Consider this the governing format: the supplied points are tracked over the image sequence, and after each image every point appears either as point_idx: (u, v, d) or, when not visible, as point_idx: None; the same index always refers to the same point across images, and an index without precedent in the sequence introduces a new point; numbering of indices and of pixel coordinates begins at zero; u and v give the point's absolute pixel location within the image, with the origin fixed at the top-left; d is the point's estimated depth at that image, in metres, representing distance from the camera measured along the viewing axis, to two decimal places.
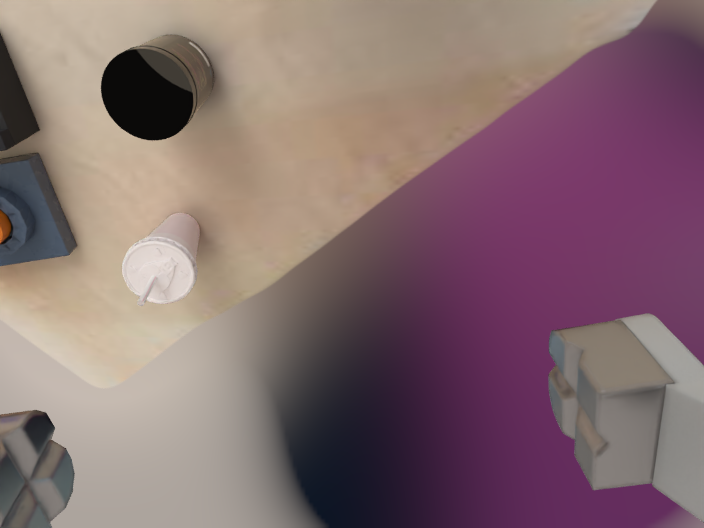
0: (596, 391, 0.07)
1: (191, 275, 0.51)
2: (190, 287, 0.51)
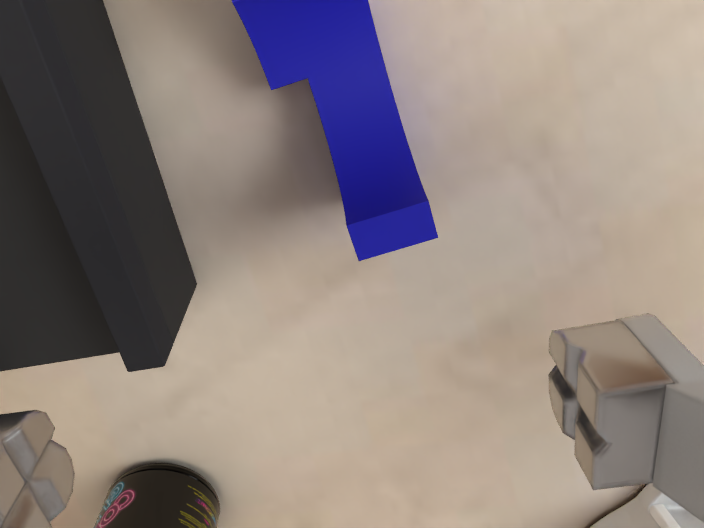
0: (596, 391, 0.07)
1: None
2: None
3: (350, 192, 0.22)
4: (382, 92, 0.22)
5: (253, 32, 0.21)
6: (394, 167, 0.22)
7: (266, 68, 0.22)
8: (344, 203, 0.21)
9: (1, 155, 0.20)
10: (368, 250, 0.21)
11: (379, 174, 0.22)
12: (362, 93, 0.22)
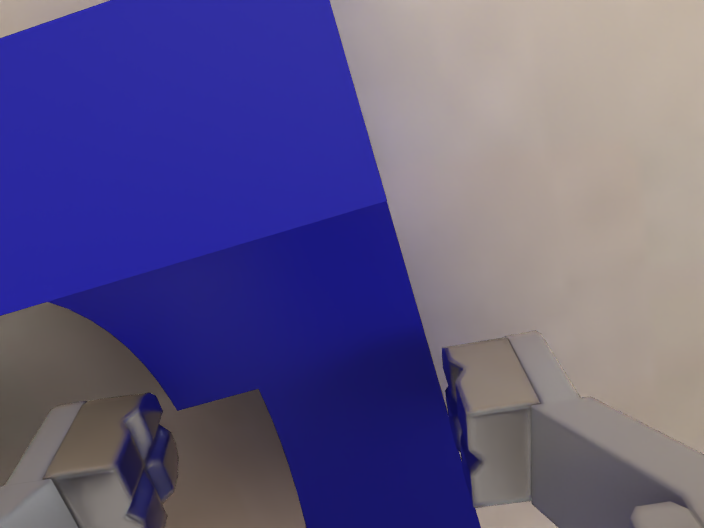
0: (466, 411, 0.07)
1: None
2: None
3: None
4: (426, 416, 0.10)
5: (117, 326, 0.08)
6: None
7: (162, 376, 0.10)
8: None
9: None
10: None
11: None
12: (381, 416, 0.10)
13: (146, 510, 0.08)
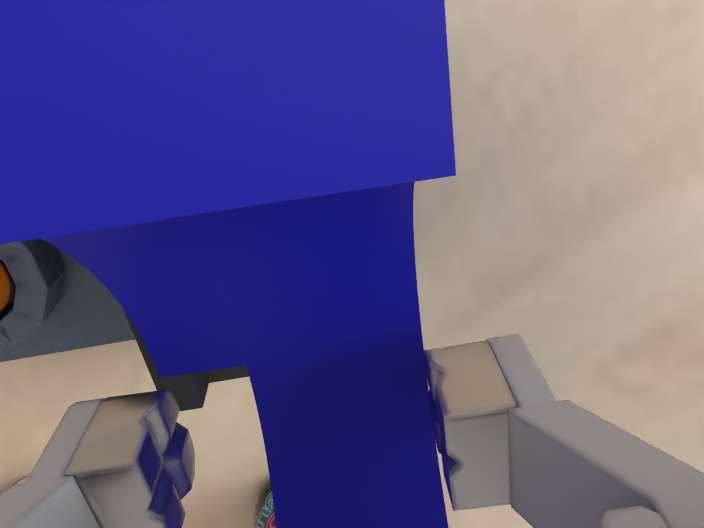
0: (444, 414, 0.07)
1: None
2: None
3: None
4: (410, 414, 0.10)
5: (116, 281, 0.08)
6: None
7: (150, 339, 0.09)
8: None
9: None
10: None
11: None
12: (365, 409, 0.10)
13: (165, 507, 0.08)
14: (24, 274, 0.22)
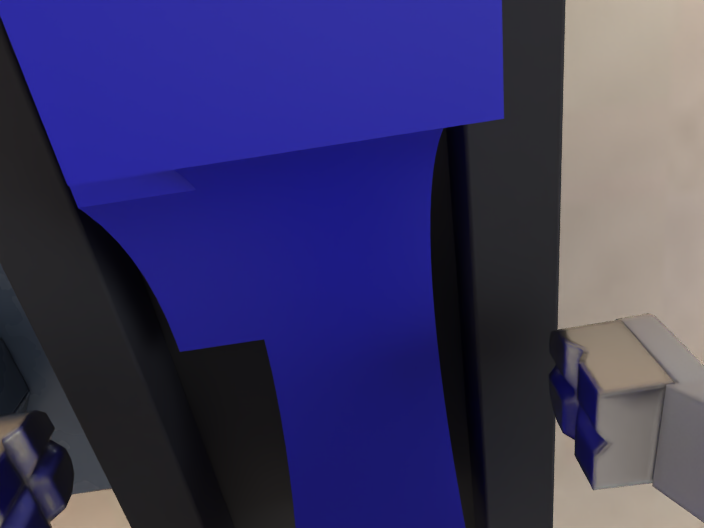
0: (596, 391, 0.07)
1: None
2: None
3: None
4: (422, 385, 0.10)
5: (142, 253, 0.08)
6: None
7: (172, 314, 0.10)
8: None
9: None
10: None
11: None
12: (378, 382, 0.10)
13: None
14: None
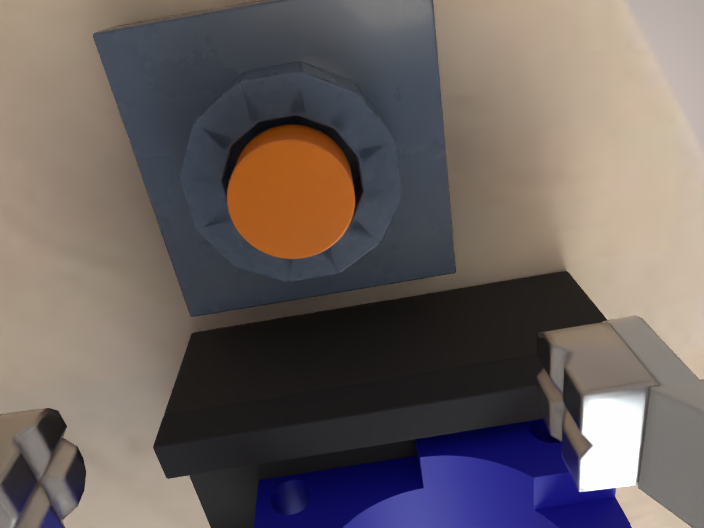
0: (581, 393, 0.07)
1: None
2: None
3: None
4: None
5: (489, 465, 0.19)
6: None
7: (444, 458, 0.19)
8: None
9: None
10: None
11: None
12: None
13: (37, 526, 0.08)
14: (307, 263, 0.18)
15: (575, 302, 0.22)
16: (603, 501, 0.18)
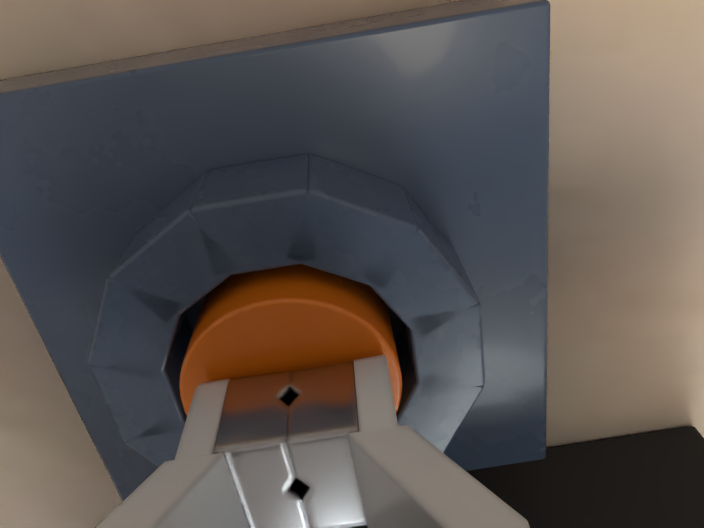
0: None
1: None
2: None
3: None
4: None
5: None
6: None
7: None
8: None
9: None
10: None
11: None
12: None
13: (301, 487, 0.08)
14: None
15: None
16: None
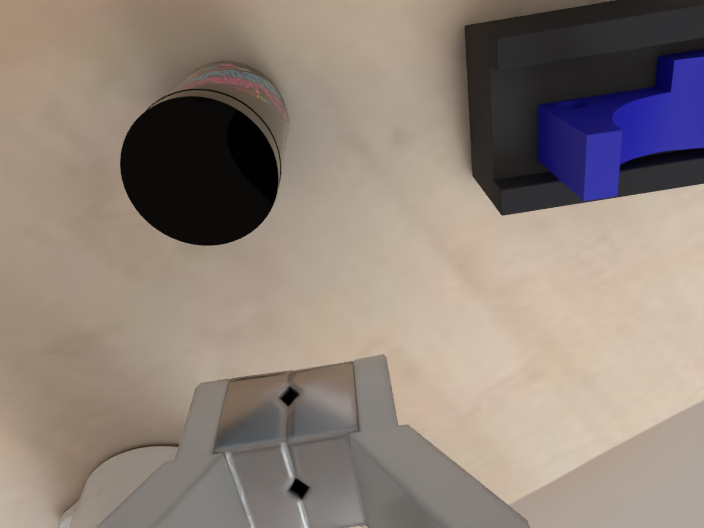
0: None
1: None
2: None
3: None
4: (640, 149, 0.29)
5: None
6: None
7: (692, 60, 0.27)
8: (612, 121, 0.25)
9: None
10: (593, 144, 0.24)
11: None
12: (644, 134, 0.29)
13: (301, 487, 0.08)
14: None
15: None
16: None
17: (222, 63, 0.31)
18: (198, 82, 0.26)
